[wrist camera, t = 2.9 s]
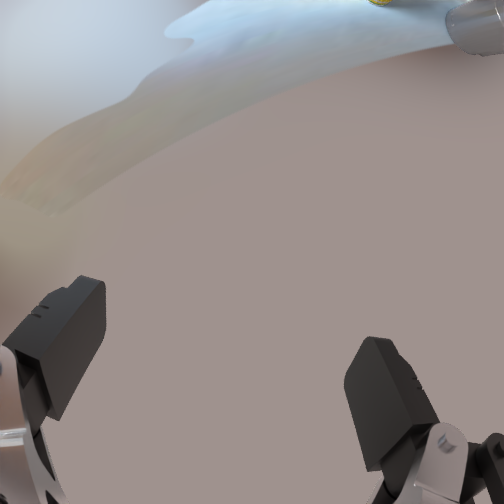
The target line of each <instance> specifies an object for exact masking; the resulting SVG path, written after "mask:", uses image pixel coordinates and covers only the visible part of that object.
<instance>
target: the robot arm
mask: <svg viewBox="0 0 504 504" xmlns="http://www.w3.org/2000/svg"><path fill="white" fill-rule="evenodd" d="M446 26H447V29H448V32H449V34H450V36H451V38H452V40H453V41H454V43H455V44H456V45H457V46H458V47H459V48H460V49H462V50H463V51H464V52H466V53H468V54H472V55H476V54H479V55H481V56H488V55H495V54H502V53H504V0H473V1H470V2H468V3H466V4H463V5H461V6H458V7H456V8H454V9H452V10H450V11H449V12H448V14H447V16H446ZM105 331H106V288H105V283H104V282H103V281H100V280H96V279H93V278H89V277H86V276H82V275H81V276H79V277H78V278H77V279H76V280H75V281H74V282H73V283H72V284H71V285H70V286H69V287H68V288H64V287H61V288H59V289H57V290H55V291H53V292H51V293H49V294H48V295H47V296H46V297H45V298H44V299H43V300H42V301H41V302H40V303H39V306H36V307H35V308H34V309H33V310H32V311H31V314H29V315H28V316H27V317H26V318H25V319H24V320H23V321H22V322H21V323H20V324H19V326H18V327H17V328H16V329H15V330H14V331H13V332H12V333H11V334H10V336H9V337H8V338H7V339H6V340H5V341H4V343H3V344H2V345H0V504H70V503H69V501H68V500H67V498H66V496H65V494H64V492H63V490H62V488H61V485H60V483H59V481H58V478H57V475H56V472H55V469H54V466H53V463H52V460H51V456H50V453H49V450H48V447H47V444H46V440H45V436H44V432H43V429H42V425H41V424H42V423H43V421H44V419H45V417H46V416H48V417H50V418H52V419H55V420H57V421H59V420H60V418H61V417H62V415H63V413H64V410H65V409H66V407H67V405H68V403H69V401H70V399H71V397H72V395H73V393H74V391H75V390H76V388H77V386H78V384H79V382H80V380H81V378H82V377H83V375H84V373H85V371H86V369H87V368H88V366H89V364H90V362H91V361H92V359H93V357H94V355H95V354H96V352H97V350H98V348H99V347H100V345H101V343H102V341H103V339H104V335H105ZM344 389H345V393H346V397H347V400H348V403H349V407H350V410H351V414H352V418H353V421H354V425H355V428H356V432H357V435H358V439H359V443H360V446H361V450H362V454H363V458H364V461H365V465H366V469H367V472H370V471H380V470H382V472H383V476H382V477H381V478H380V479H379V480H378V482H377V484H376V486H375V488H374V490H373V492H372V494H371V495H370V498H369V499H368V501H367V503H366V504H475V502H474V500H473V497H474V496H475V495H477V494H478V493H479V492H481V491H482V490H483V489H485V488H486V487H487V489H488V492H489V495H490V498H491V501H492V503H493V504H504V435H502V434H500V433H493V434H491V435H490V436H489V437H488V438H487V439H486V440H485V441H484V442H483V443H482V444H477V443H471V442H467V440H466V438H465V436H464V434H463V433H462V432H461V431H460V430H459V429H458V428H456V427H455V426H453V425H451V424H448V423H440V421H439V419H438V417H437V415H436V413H435V411H434V409H433V407H432V405H431V403H430V401H429V399H428V397H427V395H426V393H425V392H424V390H422V386H421V384H420V382H419V380H417V376H416V375H415V372H414V371H413V369H412V367H411V366H410V365H409V364H408V362H407V361H405V360H404V359H403V357H402V356H400V355H399V353H398V351H397V349H396V347H395V346H394V344H393V342H392V341H391V340H390V339H386V338H378V337H370V336H369V337H367V338H366V339H365V340H364V341H363V343H362V345H361V346H360V349H359V350H358V352H357V354H356V356H355V358H354V360H353V361H352V363H351V365H350V367H349V368H348V370H347V372H346V375H345V379H344Z"/></svg>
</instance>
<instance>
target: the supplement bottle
mask: <svg viewBox="0 0 504 504" xmlns="http://www.w3.org/2000/svg"><path fill="white" fill-rule="evenodd" d="M366 1H368V2H369V3H371V4H373V5H377V6H384V5H386V4H388V3H389V2H390V1H392V0H366Z"/></svg>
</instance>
